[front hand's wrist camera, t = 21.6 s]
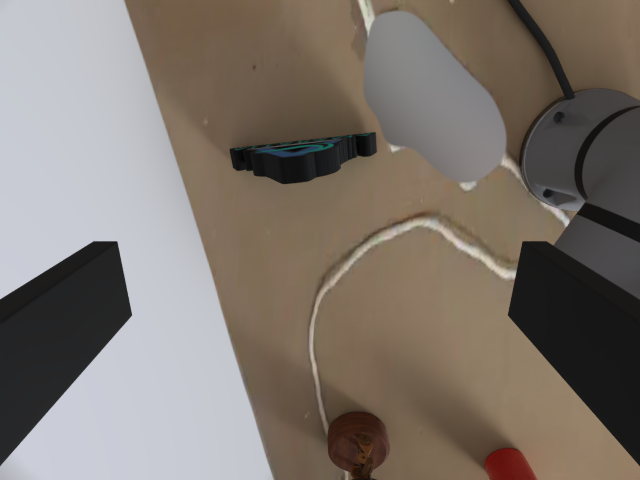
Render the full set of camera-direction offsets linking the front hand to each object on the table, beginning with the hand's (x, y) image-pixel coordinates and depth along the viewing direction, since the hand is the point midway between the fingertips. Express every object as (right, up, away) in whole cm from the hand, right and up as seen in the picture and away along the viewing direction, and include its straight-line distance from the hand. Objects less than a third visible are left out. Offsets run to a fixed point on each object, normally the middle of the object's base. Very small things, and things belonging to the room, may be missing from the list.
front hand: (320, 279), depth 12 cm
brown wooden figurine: (+7, -34, +55) cm, 65 cm away
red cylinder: (+34, -40, +57) cm, 77 cm away
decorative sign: (-2, +13, +37) cm, 39 cm away
